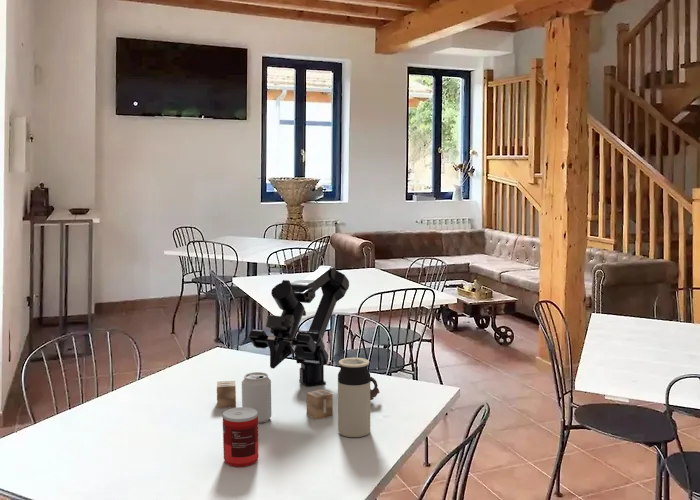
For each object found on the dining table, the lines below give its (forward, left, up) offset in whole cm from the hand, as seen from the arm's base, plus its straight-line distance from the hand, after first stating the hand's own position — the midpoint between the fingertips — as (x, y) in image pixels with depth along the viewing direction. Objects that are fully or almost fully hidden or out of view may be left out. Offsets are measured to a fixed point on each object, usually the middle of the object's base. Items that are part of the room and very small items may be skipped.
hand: (271, 367), depth 185 cm
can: (+6, +6, -12) cm, 15 cm away
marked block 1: (+10, -9, -12) cm, 18 cm away
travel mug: (-13, +25, -12) cm, 30 cm away
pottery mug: (-25, +3, -12) cm, 27 cm away
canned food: (+17, +29, -12) cm, 36 cm away
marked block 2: (-10, +10, -12) cm, 18 cm away
